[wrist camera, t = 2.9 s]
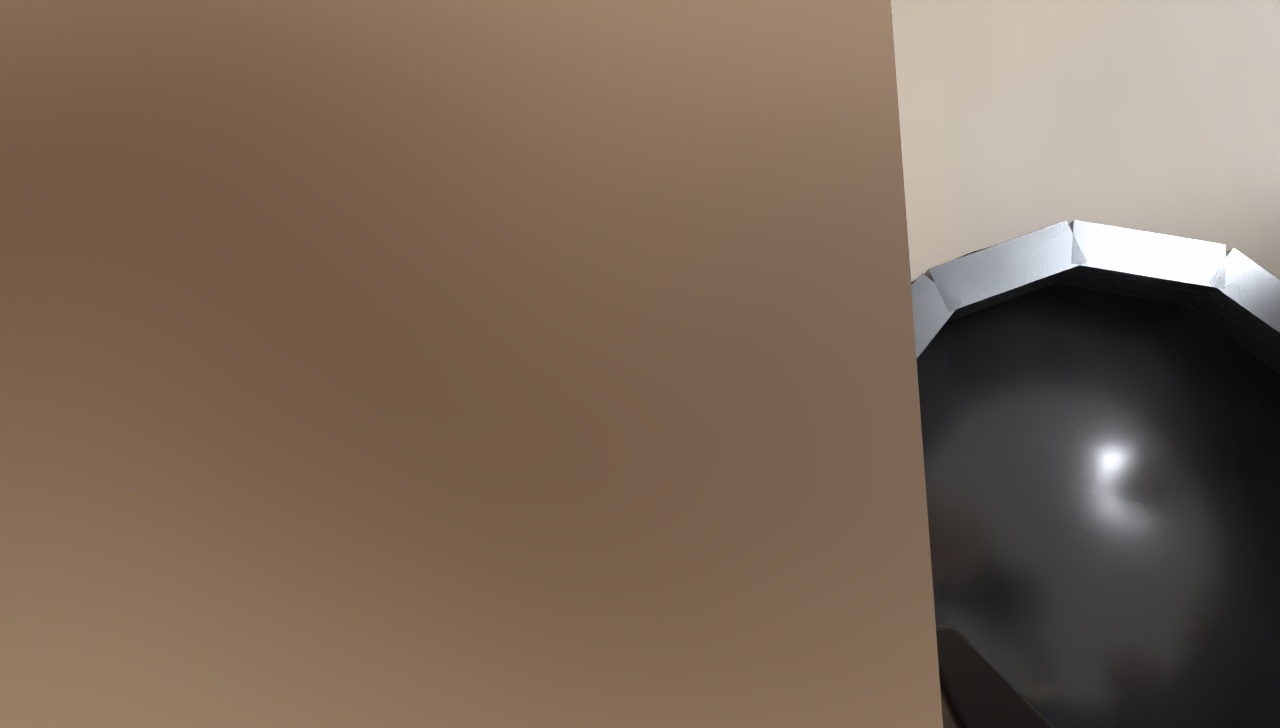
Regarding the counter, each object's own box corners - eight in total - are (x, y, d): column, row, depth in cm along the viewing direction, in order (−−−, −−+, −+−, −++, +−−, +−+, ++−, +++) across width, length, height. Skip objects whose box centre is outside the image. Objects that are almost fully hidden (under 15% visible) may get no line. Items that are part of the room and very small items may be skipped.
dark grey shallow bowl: (1196, 1033, 18) (1249, 1076, 16) (658, 572, 20) (661, 570, 18) (1524, 495, 20) (1598, 487, 19) (1016, 134, 22) (1045, 100, 21)
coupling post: (715, 673, 19) (957, 909, 5) (399, 673, 19) (-338, 907, 5) (709, 365, 21) (878, -167, 6) (416, 365, 21) (-94, -171, 6)
